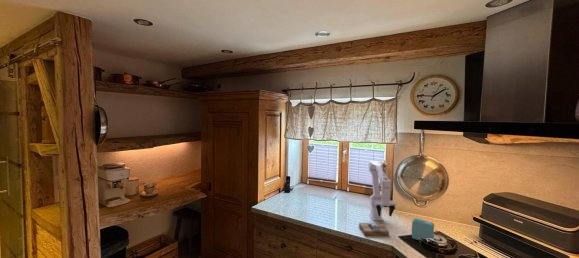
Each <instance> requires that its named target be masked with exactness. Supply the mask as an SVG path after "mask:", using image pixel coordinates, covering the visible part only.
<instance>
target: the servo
mask: <svg viewBox="0 0 579 258" xmlns="http://www.w3.org/2000/svg"><path fill="white" fill-rule="evenodd" d="M369 223H370V224H369V225H370V228H371V229H373V230H379V229H378V226H377V225H376V224H375V223H376V222H369Z"/></svg>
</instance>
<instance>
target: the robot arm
mask: <svg viewBox="0 0 579 258" xmlns="http://www.w3.org/2000/svg"><path fill="white" fill-rule="evenodd" d="M368 172H369V173H371V181H372V183H371V184H372V193H373V194H372V195H370V196H369V205H370V212H369V213H370V214H369V215H368V216H369V217H370V218H371V219H372V221H384V219H383V216H382V215H383V208H384V207H388V216H389V217H392V215H393V213H394V210H396V207H397V203H396V202H393V201H391V189H392V188H393V181H392V180H391V179H390V178H389V177H388V176H387V174H386V173H385V172H384V163H383V161H369V162H368ZM379 181H380V183H379ZM380 190H381V193H380Z"/></svg>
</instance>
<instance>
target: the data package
mask: <svg viewBox="0 0 579 258" xmlns="http://www.w3.org/2000/svg"><path fill="white" fill-rule="evenodd" d="M434 235H435V224H434V223H433V222H431V221H428V220H423V219H419V218H413V219H412V222H411V237H412V239H414V240H418V241H420V240H419V238H422V239H426V238H432V239H433V240H434V238H433V237H434Z"/></svg>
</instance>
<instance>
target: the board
mask: <svg viewBox="0 0 579 258" xmlns="http://www.w3.org/2000/svg"><path fill="white" fill-rule="evenodd" d="M370 223H371V222H359V225H358V227H359V229H360V231H361V232H362V234H363V235H364V236H365V237H366V236H367V237H390V231H389V229H387V227H386V226H384V224H383V223H382V222H374V223H375V224H376V225H377V226H378V229H379V230H373V229H371V228H370V225H369V224H370Z"/></svg>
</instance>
